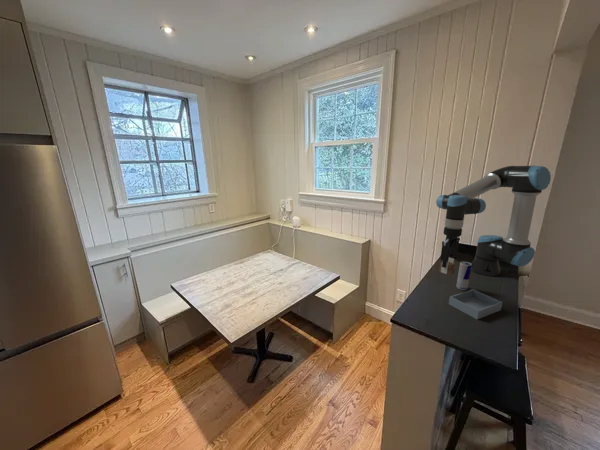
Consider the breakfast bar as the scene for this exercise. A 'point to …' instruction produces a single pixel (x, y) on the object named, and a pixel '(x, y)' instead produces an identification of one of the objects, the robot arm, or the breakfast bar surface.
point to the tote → (475, 303)
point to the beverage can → (463, 275)
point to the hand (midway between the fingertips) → (446, 271)
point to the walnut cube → (449, 268)
